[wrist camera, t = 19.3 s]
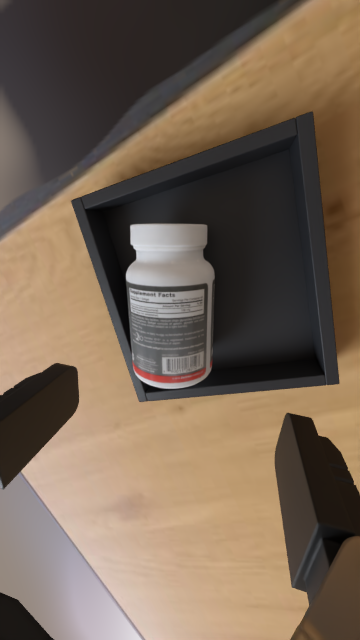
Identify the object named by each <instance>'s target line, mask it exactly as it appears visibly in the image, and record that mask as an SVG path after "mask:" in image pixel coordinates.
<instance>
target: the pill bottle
mask: <svg viewBox="0 0 360 640" xmlns="http://www.w3.org/2000/svg"><path fill="white" fill-rule="evenodd" d="M130 233H131V236H130V240H131V245H133V248H134V249H135V250H136V260H135V261H134V262H133V263H132V264H131V265H130V266H129V267H128V269H127V272H126V286H127V298H128V310H129V323H130V335H131V348H132V362H133V369H134V372H135V374H136V376H137V377H138V378H139V379H140V380H141V381H143V382H145V383H147V384H149V385H151V386H155V387H159V388H166V389H176V388H184V387H189V386H192V385H195V384H197V383H199V382H200V381H202V380H203V379H205V378H206V377H207V376H208V374H209V373H210V371H211V368H212V354H213V322H214V290H215V273H214V269H213V267H212V266H211V264H210V263H209V262H207V261H206V260H205V259H204V257H203V249H204V248H205V246H206V245H207V225H204V224H133V225H131V226H130Z"/></svg>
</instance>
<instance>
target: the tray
mask: <svg viewBox="0 0 360 640" xmlns="http://www.w3.org/2000/svg"><path fill="white" fill-rule="evenodd" d="M71 202H72V205H73V208H74V211H75V214H76V217H77V220H78V223H79V226H80V229H81V232H82V235H83V238H84V241H85V244H86V246H87V249H88V252H89V255H90V258H91V261H92V264H93V267H94V270H95V273H96V276H97V279H98V282H99V285H100V288H101V291H102V294H103V297H104V299H105V302H106V305H107V308H108V311H109V314H110V317H111V320H112V323H113V326H114V329H115V332H116V335H117V338H118V341H119V344H120V347H121V349H122V352H123V355H124V358H125V361H126V364H127V367H128V370H129V373H130V376H131V379H132V382H133V385H134V388H135V391H136V394H137V397H138V400H139V402H144V401H156V400H168V399H179V398H190V397H201V396H212V395H223V394H234V393H245V392H256V391H267V390H279V389H290V388H301V387H312V386H323V385H334V384H339V374H338V363H337V353H336V343H335V333H334V322H333V312H332V302H331V292H330V281H329V271H328V261H327V251H326V240H325V230H324V220H323V210H322V199H321V189H320V179H319V169H318V158H317V148H316V138H315V128H314V118H313V112H309V113H306V114H303V115H300V116H298V117H296V119H295V118H293V119H290V120H287V121H284V122H282V123H279V124H276V125H274V126H271V127H268V128H266V129H263V130H260V131H257V132H255V133H252V134H249V135H247V136H244V137H241V138H238V139H236V140H233V141H230V142H228V143H225V144H222V145H220V146H217V147H214V148H211V149H209V150H206V151H203V152H201V153H198V154H195V155H192V156H190V157H187V158H184V159H182V160H179V161H176V162H173V163H171V164H168V165H165V166H163V167H160V168H157V169H155V170H152V171H149V172H146V173H144V174H141V175H138V176H136V177H133V178H130V179H127V180H125V181H122V182H119V183H117V184H114V185H111V186H109V187H106V188H103V189H100V190H98V191H95V192H92V193H90V194H87V195H84V196H82V197H79V198H76V199H74V200H72V201H71ZM133 224H204V225H207V245H206V246H205V248H204V249H203V257H204V259H205V260H206V261H207V262H209V263H210V264H211V266H212V267H213V269H214V273H215V290H214V322H213V354H212V368H211V371H210V373H209V374H208V376H207V377H206V378H205V379H203V380H202V381H200V382H199V383H197V384H195V385H192V386H189V387H184V388H176V389H166V388H159V387H155V386H151V385H149V384H147V383H145V382H143V381H141V380H140V379H139V378H138V377H137V376H136V374H135V372H134V369H133V362H132V348H131V335H130V323H129V310H128V298H127V286H126V272H127V269H128V267H129V266H130V265H131V264H132V263H133V262H134V261H135V260H136V250H135V249H134V248H133V245H131V240H130V236H131V233H130V226H131V225H133Z"/></svg>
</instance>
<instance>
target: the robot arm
mask: <svg viewBox="0 0 360 640" xmlns="http://www.w3.org/2000/svg"><path fill="white" fill-rule="evenodd" d="M78 403H79V389H78V372H77V369H76V367H74V366H69V365H64V364H60V363H55V364H53V365H52V366H50V367H49V368H47V369H46V370H44V371H43V372H42V373H38V374H36V375H33V376H30V377H28V378H26V379H24V380H23V381H21V382H20V383H18V384H17V385H15V386H14V388H11V389H9V390H8V391H6V392H5V393H4V394H3V395H0V489H4V488H5V487H6V486H7V485H8V484H9V483H10V482H11V481H12V480H13V479H14V478H15V477H16V476H17V474H18V473H19V472H20V471H21V470H22V469H23V468H24V467H25V466H26V465H27V464H28V463H29V462H30V461H31V459H32V458H33V457H34V456H35V455H36V454H37V453H38V452H39V451H40V450H41V449H42V448H43V447H44V446H45V444H46V443H47V442H48V441H49V440H50V439H51V438H52V437H53V436H54V435H55V434H56V433H57V432H58V431H59V429H60V428H61V427H62V426H63V425H64V424H65V423H66V422H67V421H68V420H69V419H70V418H71V417H72V416H73V414H74V413H75V411H76V409H77V407H78ZM275 471H276V478H277V485H278V492H279V499H280V506H281V513H282V520H283V528H284V535H285V542H286V549H287V556H288V563H289V570H290V577H291V585H292V588H295V589H298V590H301V591H304V592H307V595H308V601H309V608H308V610H307V611H306V613H305V615H304V617H303V619H302V621H301V623H300V624H299V625H298V627H297V628H296V630H295V632H294V634H293V636H292V637H291V639H290V640H360V494H359V492H358V490H357V487H356V485H354V481H353V479H352V476H351V474H350V472H349V471H348V467H347V465H346V463H345V461H344V459H343V456H342V454H341V452H340V451H339V450H338V449H337V448H336V446H335V445H334V444H333V443H332V442H331V441H330V440H329V439H328V438H326V437H322V436H318V433H317V430H316V428H315V425H314V422H313V420H312V419H311V418H309V417H304V416H300V415H295V414H290V413H287V414H286V415H285V418H284V421H283V424H282V428H281V432H280V435H279V439H278V442H277V446H276V451H275ZM0 640H54V639H53V638H51V637H50V636H49V634H48V633H47V632H46V631H45V630H44V629H43V628H42V627H41V625H40V624H39V623H38V622H37V621H36V620H35V619H34V618H33V616H32V615H31V614H30V613H29V612H28V611H27V610H26V609H25V607H24V606H23V605H22V604H21V603H20V602H19V601H18V600H17V599H15V598H12V597H10V596H8V595H5V594H3V593H0Z"/></svg>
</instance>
